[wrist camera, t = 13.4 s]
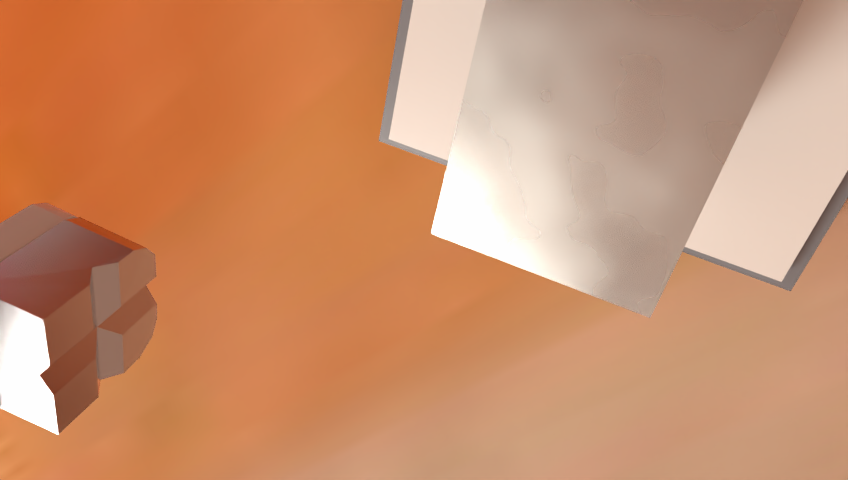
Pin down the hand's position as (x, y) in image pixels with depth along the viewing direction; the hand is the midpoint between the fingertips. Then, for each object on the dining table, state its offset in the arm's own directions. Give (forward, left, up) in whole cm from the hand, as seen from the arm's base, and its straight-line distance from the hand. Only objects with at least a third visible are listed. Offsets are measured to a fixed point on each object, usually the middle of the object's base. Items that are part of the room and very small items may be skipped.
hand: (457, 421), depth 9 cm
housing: (0, 0, -16) cm, 16 cm away
